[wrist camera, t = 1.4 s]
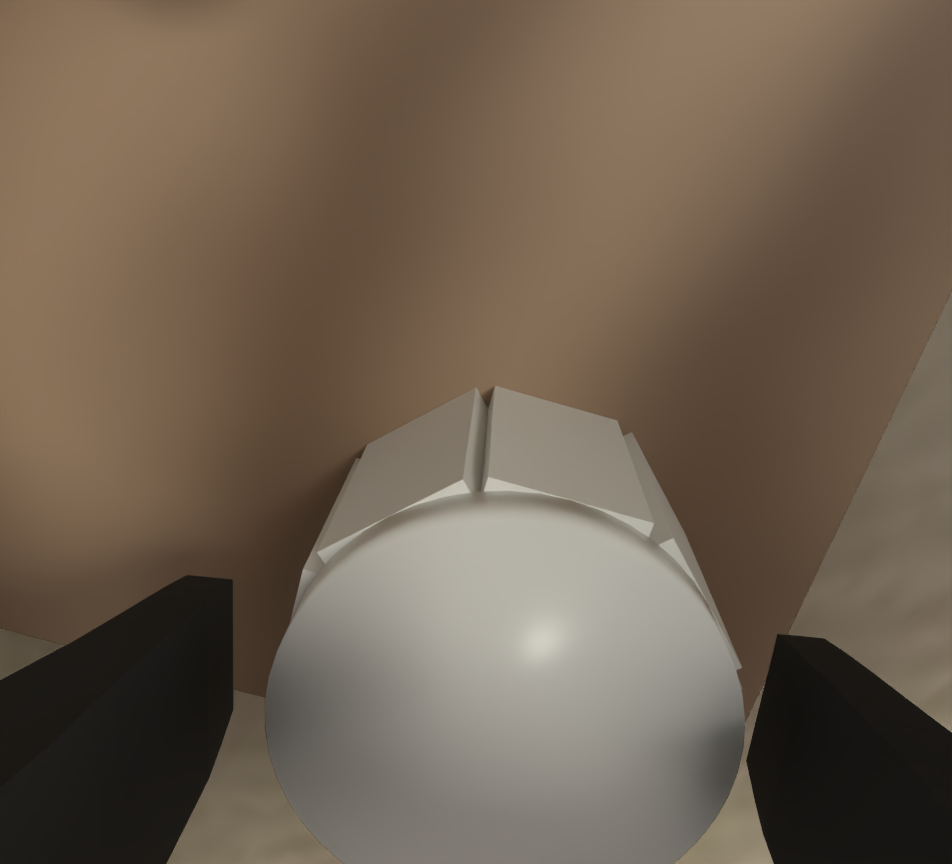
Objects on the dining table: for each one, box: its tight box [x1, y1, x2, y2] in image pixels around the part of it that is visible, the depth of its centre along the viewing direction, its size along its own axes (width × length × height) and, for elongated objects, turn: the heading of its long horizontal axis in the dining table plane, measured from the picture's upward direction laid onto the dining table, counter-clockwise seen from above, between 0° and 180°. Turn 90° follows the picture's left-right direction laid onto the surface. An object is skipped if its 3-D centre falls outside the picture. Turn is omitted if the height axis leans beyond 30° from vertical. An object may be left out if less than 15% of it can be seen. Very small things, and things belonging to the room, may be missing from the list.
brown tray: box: [0, 0, 952, 722], centre depth 12 cm, size 16×18×4 cm
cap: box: [265, 386, 745, 864], centre depth 12 cm, size 6×6×4 cm
